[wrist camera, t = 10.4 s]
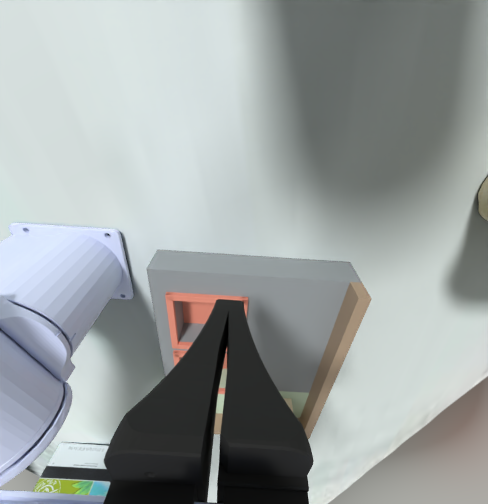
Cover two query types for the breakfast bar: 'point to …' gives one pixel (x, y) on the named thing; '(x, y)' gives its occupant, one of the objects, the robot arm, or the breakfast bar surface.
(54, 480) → the tea box
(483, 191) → the flower pot
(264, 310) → the box
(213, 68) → the breakfast bar surface
